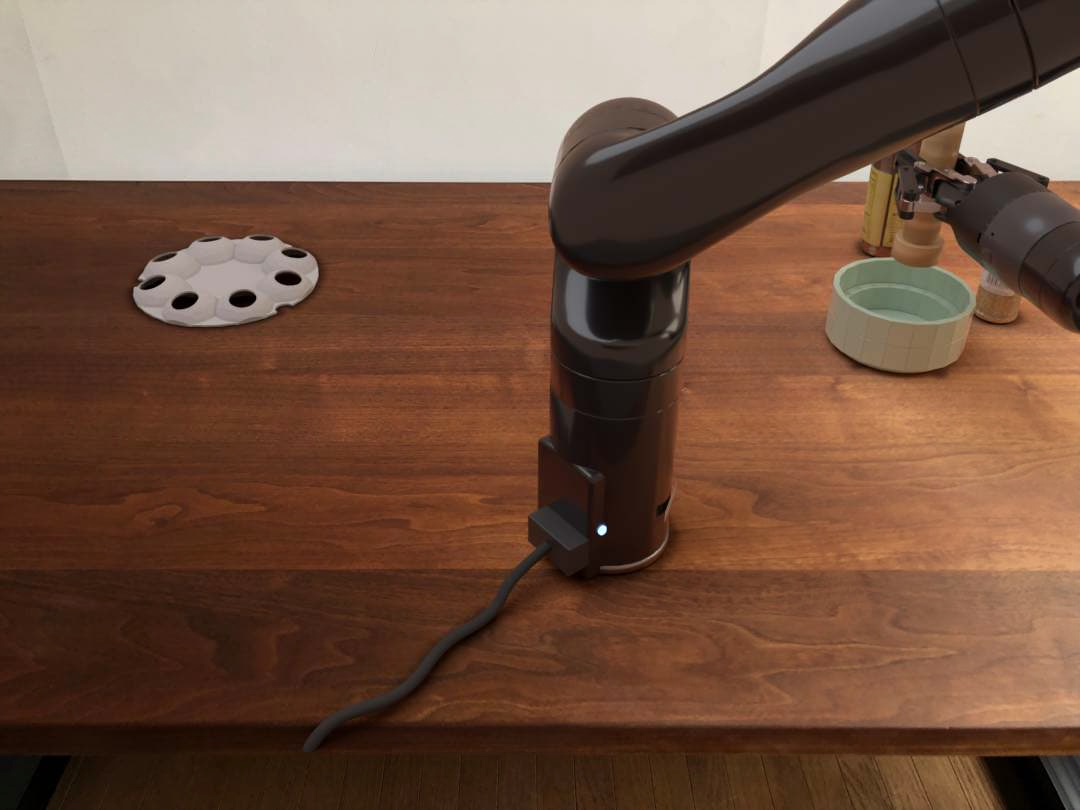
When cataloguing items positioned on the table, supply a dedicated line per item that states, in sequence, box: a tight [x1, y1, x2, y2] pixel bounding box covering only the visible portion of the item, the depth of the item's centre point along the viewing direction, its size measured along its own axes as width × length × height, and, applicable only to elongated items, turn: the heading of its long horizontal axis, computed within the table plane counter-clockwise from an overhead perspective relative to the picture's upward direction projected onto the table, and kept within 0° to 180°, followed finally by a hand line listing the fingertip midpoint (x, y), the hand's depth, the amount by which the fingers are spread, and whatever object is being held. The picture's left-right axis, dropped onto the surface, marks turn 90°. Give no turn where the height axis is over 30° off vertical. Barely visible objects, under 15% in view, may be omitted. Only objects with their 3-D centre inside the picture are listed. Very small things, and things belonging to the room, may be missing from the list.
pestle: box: [891, 122, 967, 268], centre depth 94 cm, size 4×4×16 cm
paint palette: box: [132, 233, 320, 328], centre depth 114 cm, size 20×20×2 cm
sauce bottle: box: [860, 141, 922, 258], centre depth 116 cm, size 7×6×20 cm
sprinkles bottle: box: [974, 267, 1023, 324], centre depth 106 cm, size 5×5×14 cm
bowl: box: [824, 257, 976, 374], centre depth 103 cm, size 13×13×6 cm
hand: (919, 156), depth 96 cm, fingers closed on pestle, 3 cm apart
